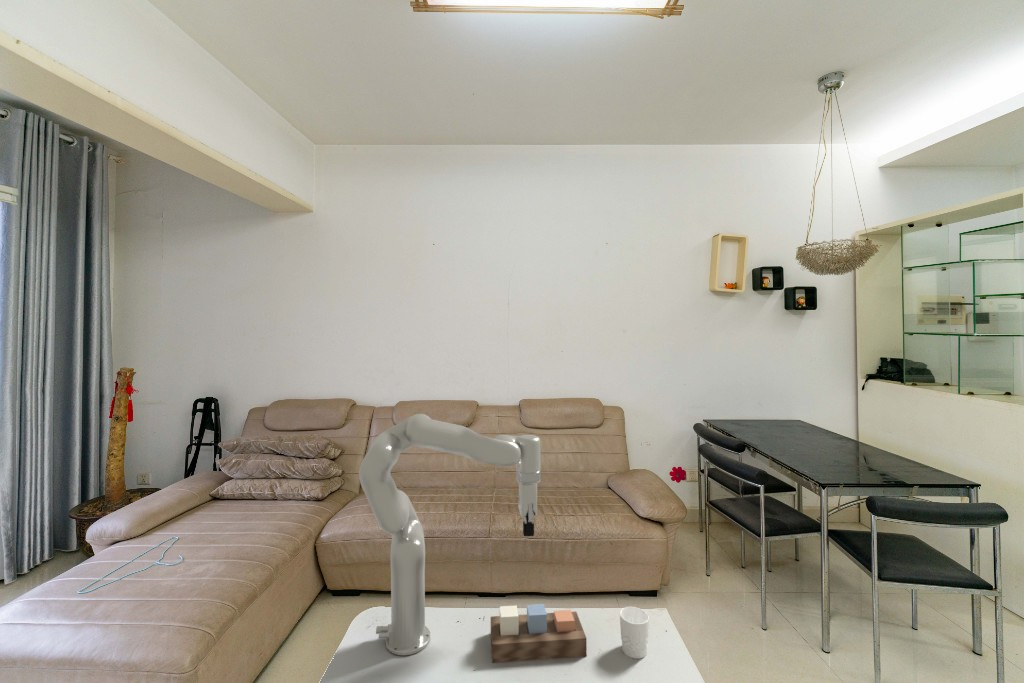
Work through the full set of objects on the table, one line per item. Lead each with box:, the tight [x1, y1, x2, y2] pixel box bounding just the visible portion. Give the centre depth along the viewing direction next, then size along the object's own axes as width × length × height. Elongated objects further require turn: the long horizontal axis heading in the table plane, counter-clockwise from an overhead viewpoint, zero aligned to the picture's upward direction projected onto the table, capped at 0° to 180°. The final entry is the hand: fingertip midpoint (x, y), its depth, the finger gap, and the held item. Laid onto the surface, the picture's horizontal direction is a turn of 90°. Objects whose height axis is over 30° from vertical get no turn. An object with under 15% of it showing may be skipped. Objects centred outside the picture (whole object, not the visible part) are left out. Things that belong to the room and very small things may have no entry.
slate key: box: [526, 603, 547, 634], centre depth 126 cm, size 5×5×6 cm
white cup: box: [619, 606, 650, 660], centre depth 123 cm, size 8×8×10 cm
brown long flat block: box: [490, 611, 588, 664], centre depth 126 cm, size 26×12×5 cm, turn 95°
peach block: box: [553, 609, 575, 632], centre depth 126 cm, size 5×5×6 cm
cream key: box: [499, 605, 519, 636], centre depth 125 cm, size 5×5×6 cm
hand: (528, 534), depth 135 cm, fingers closed
